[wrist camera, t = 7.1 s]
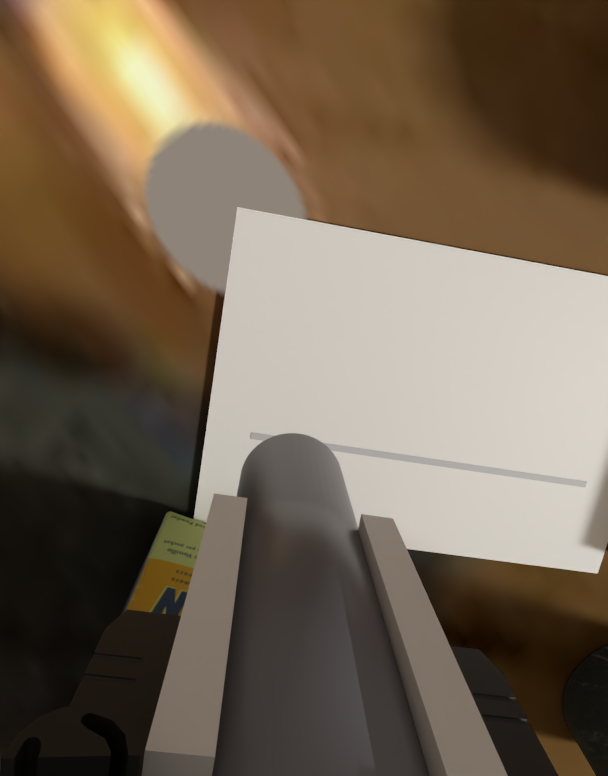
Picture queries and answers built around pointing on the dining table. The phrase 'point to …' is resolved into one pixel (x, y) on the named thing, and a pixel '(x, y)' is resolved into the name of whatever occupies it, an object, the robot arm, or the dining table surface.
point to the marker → (308, 632)
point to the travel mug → (590, 709)
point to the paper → (420, 386)
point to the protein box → (167, 567)
